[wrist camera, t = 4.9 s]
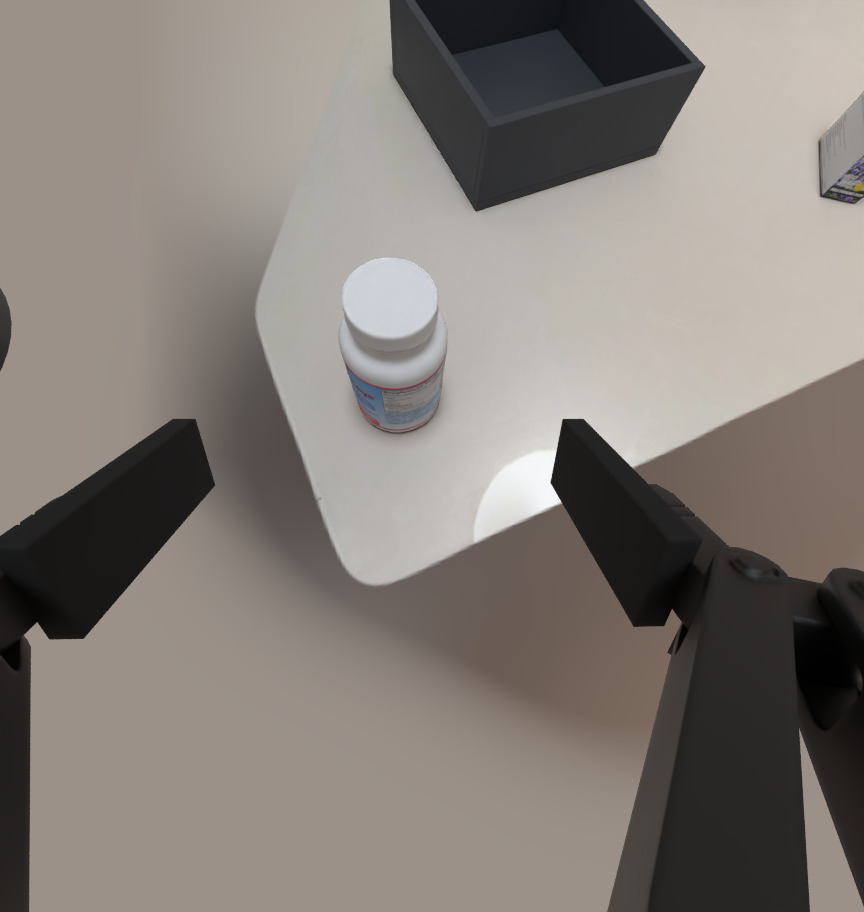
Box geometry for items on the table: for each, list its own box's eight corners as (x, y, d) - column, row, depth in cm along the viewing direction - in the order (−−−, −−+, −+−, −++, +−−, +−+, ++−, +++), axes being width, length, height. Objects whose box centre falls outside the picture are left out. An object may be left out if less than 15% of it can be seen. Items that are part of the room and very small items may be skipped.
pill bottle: (351, 371, 29) (313, 256, 19) (428, 354, 30) (434, 234, 19) (368, 444, 28) (338, 363, 17) (449, 424, 28) (469, 335, 18)
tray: (392, 73, 39) (388, -25, 33) (557, 33, 42) (583, -66, 36) (475, 211, 34) (489, 127, 28) (655, 154, 37) (706, 66, 31)
